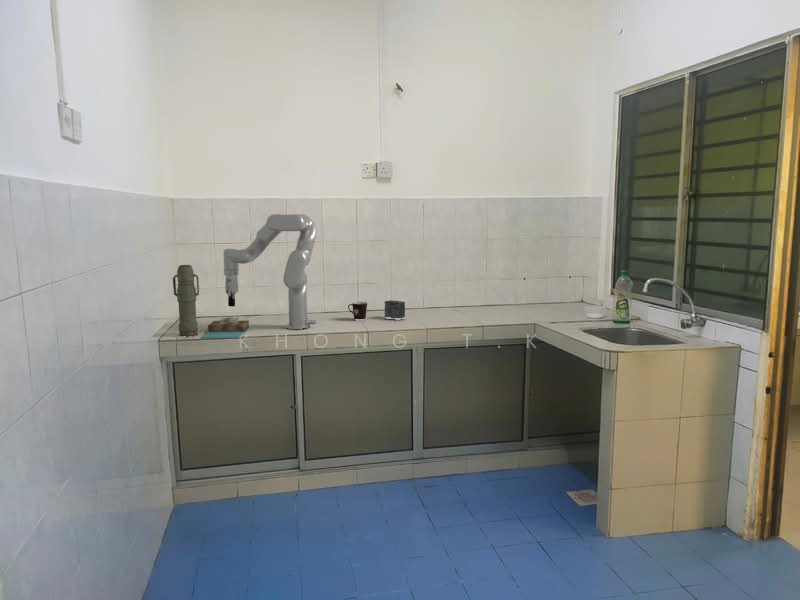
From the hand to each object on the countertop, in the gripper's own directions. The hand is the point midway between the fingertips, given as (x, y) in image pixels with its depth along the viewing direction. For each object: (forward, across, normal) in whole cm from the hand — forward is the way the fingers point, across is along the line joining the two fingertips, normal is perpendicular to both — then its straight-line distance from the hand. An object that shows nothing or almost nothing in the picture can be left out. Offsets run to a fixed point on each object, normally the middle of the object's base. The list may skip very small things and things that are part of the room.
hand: (231, 306), depth 303 cm
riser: (+11, -11, -1) cm, 16 cm away
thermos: (+12, -21, +16) cm, 29 cm away
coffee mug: (+9, +16, -68) cm, 70 cm away
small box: (+9, +17, -89) cm, 91 cm away
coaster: (+7, -10, -1) cm, 12 cm away
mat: (+11, -24, -1) cm, 26 cm away
